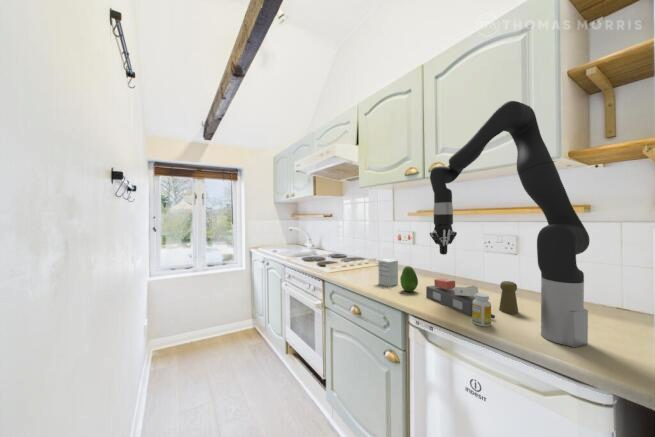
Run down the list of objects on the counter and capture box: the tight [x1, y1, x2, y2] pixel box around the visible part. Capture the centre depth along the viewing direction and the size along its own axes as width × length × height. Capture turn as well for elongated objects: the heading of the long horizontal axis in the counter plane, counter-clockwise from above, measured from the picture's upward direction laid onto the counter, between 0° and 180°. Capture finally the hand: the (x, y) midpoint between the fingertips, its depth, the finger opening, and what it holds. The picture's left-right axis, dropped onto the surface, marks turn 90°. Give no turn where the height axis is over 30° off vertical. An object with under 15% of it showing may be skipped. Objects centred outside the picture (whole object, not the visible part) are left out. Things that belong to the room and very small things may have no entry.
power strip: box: [425, 285, 496, 320], centre depth 104 cm, size 29×8×5 cm, turn 19°
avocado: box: [399, 265, 419, 292], centre depth 125 cm, size 8×8×12 cm
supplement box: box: [377, 258, 399, 287], centre depth 138 cm, size 7×7×13 cm
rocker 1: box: [434, 278, 456, 289], centre depth 112 cm, size 7×5×3 cm
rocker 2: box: [454, 285, 479, 296], centre depth 101 cm, size 7×5×3 cm
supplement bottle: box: [471, 292, 492, 327], centre depth 88 cm, size 5×5×10 cm
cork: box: [498, 280, 519, 315], centre depth 99 cm, size 6×6×11 cm
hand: (443, 254), depth 113 cm, fingers closed
